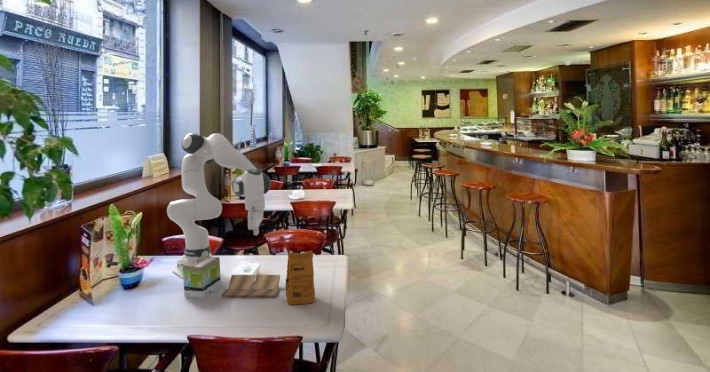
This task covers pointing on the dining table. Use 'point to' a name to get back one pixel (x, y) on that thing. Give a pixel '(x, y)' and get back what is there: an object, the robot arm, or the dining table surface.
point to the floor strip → (249, 293)
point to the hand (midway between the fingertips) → (256, 234)
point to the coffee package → (300, 278)
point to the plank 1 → (241, 282)
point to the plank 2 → (267, 282)
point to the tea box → (201, 276)
